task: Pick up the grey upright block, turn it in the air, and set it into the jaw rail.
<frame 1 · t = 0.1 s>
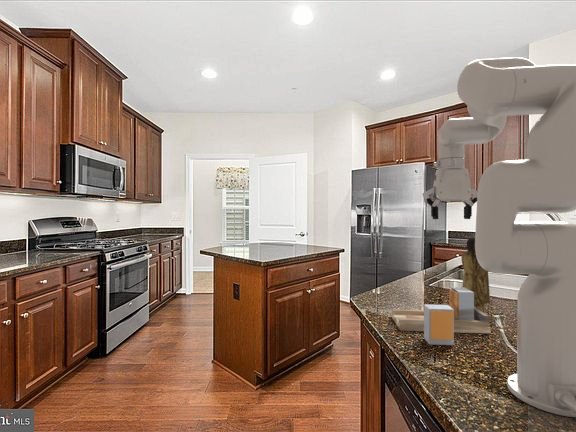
hand: (451, 219, 102), 31 cm above the table, fingers open, 9 cm apart
jaw rail: (437, 324, 95), on the table
statue: (477, 313, 106), on the table
grey upright block: (438, 341, 83), on the table
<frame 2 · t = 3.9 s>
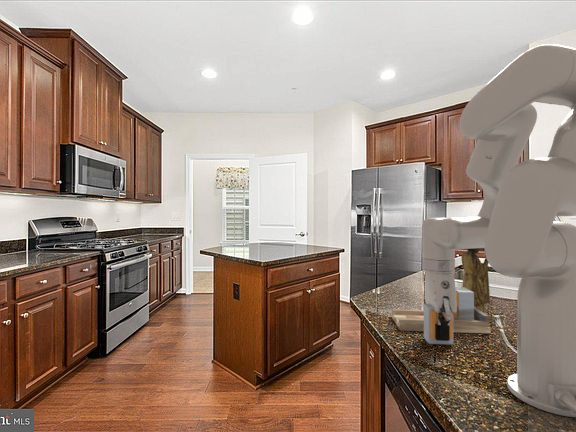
hand: (438, 335, 83), 2 cm above the table, fingers closed on grey upright block, 4 cm apart
grey upright block: (438, 340, 83), on the table, touching gripper
everything else where it was.
when the fingers open (4 cm above the table, at t = 9.8 s): grey upright block drops 1 cm, resting on jaw rail.
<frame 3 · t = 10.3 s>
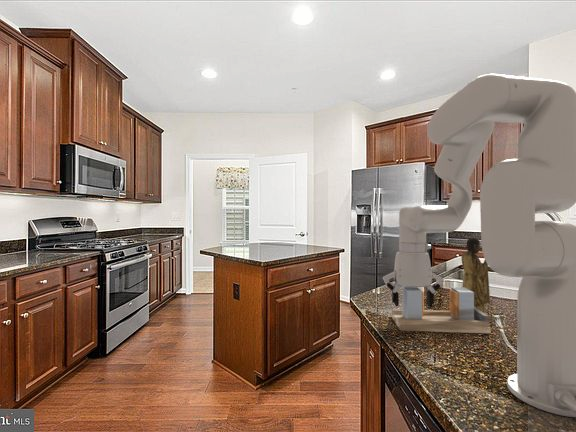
hand: (412, 305, 96), 5 cm above the table, fingers open, 9 cm apart
grey upright block: (412, 318, 96), point 2 cm above the table, touching jaw rail
everything else where it was.
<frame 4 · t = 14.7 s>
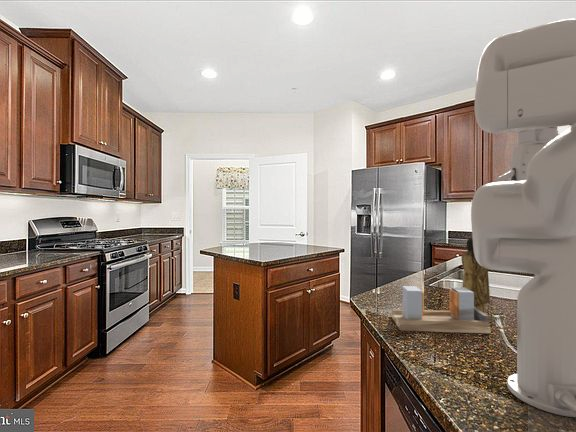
hand: (536, 211, 76), 33 cm above the table, fingers open, 9 cm apart
nothing on the table moved.
at the end: grey upright block 1.0 cm from the target spot on the jaw rail, point 1.6 cm above the jaw rail's base; grey upright block tilted 0°; the gripper is holding nothing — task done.
